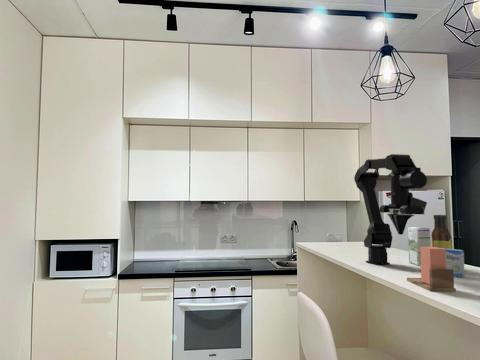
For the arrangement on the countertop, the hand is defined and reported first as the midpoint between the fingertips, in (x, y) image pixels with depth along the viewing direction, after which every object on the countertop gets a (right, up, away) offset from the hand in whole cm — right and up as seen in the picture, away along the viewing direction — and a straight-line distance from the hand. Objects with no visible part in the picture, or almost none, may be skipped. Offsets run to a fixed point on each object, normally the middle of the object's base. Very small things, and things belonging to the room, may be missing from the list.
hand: (400, 234), depth 107 cm
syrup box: (+15, -15, +14) cm, 25 cm away
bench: (-1, -12, -18) cm, 21 cm away
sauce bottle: (+18, -14, +5) cm, 23 cm away
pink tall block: (-1, -11, -20) cm, 22 cm away
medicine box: (+15, -13, -3) cm, 20 cm away
